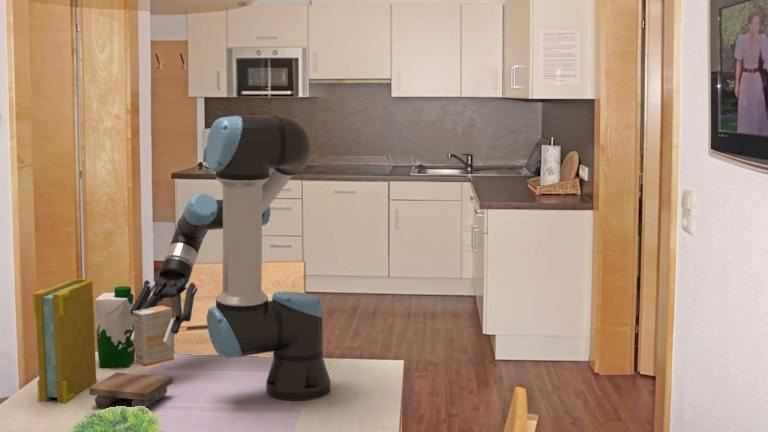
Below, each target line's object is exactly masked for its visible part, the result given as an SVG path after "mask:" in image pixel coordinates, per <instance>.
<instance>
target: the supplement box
mask: <svg viewBox="0 0 768 432" xmlns="http://www.w3.org/2000/svg"><path fill="white" fill-rule="evenodd" d="M171 318H173V308H172V307H169V306H165V305H156V306H155V307H152V308H147V309H142V310H137V311H133V324H134V342H135V360H134V361H135V364H136V365H139V366H142V367H145V368H146V367H150V366H154V365H157V364H161V363H166V362H170V361H174V360H175V351H174V350H175V348H174V346H175V345H174V339H173V340H172V343H171V346H170V347H167V346H166V345H165V343H164V342H163V340H164V337H165V335H166V332H167V329H168V326H169V323H170V320H171Z"/></svg>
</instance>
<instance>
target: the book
mask: <svg viewBox="0 0 768 432" xmlns="http://www.w3.org/2000/svg"><path fill="white" fill-rule="evenodd" d="M93 294H94V290H93V280H92V279H91V278H90V279H89V278H74V279H69V280H67V281H64V282H61V283H58V284H57V285H53V286H51V287H49V288H45V289H41V290H38V291H36V292H34V293H32V298H33V299H32V300H33V315H35V321H36V322H35V323H36V343H37V345H36V346H37V365H38V380H37V401H38V402H45V403H46V402H48V401H50V400H51V399H53V398H57V399H56V400H57V403H58V404H59V403H61V404H66V403H68V402H70V401H71V400H73V399H74V398H75V396H76V395H79V394H80V393H82V392H83V391H85V390H87V389H89V388H91V387H92V386H94V385H96V384H97V366H96V365H97V364H96V346H95V345H96V343H95V342H96V341H95V340H96V338H95V316H94V314H95V313H94V311H95V310H94V295H93Z"/></svg>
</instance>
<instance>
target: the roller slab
mask: <svg viewBox="0 0 768 432" xmlns="http://www.w3.org/2000/svg"><path fill="white" fill-rule="evenodd" d="M172 384H173V377H172V376H166V375H165V376H164V375H163V376H162V375H155V374H154V375H153V374H142V373H141V374H140V373H131V372H115V373H113V374H112V375H110V376H108V377H107V378H105V379H103V380H101V381H100V382H98V383H95V384H93V385H92V386H90V387H88V391H89V393H88V394H89V396H96V397H95V399H94V402H95V405H96V406H97V407H98V408H99V409H103V408H106V407H108V406H109V405H111V404H112V403H114V402H115V401H117V400H118V399H128V400H129V399H131V400H132V401H131V407H135V406H140V405H141V406H145V407H146V408H148V407H150V406H151V405H152V404H154V403H155V402H157V401H158V400H159V399H160V398H162V397H164V396H165V395H166V394H168V393H167V392H168V386H169V387H170V385H172Z"/></svg>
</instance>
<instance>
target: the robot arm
mask: <svg viewBox="0 0 768 432" xmlns="http://www.w3.org/2000/svg"><path fill="white" fill-rule="evenodd" d="M312 148H313V147H312V141H311V138H310V135H309V133H308V131H307V130H306V129H305V127H304V126H303V125H302V124H301V123H300V122H298V121H297V120H295V119H293V118H292V117H289V116H284V115H231V116H225V117H224V116H223V117H222V116H221V117H219V118H217V119H216V120H215V121H214V122H213V123H212V125H211V126H210V129H209V132H208V135H207V140H206V147H205V149H206V150H205V157H206V158H207V159H206V162H207V166H208V168H209V169H210V170H211V171H212V172H214V173H215V179H216V180H217V181H218V182H219V183H220V185H222V199H215V198H214V197H213V196H212V195H208V194H206V193H197V194H195V195H193V196H192V197H191V198H190V199H189V201H188V202H187V203H186V205H185V207H184V210H183V213H182V214H181V215H180V218H178V221H177V224H176V228H175V230H174V233H173V235H172V238H171V242H170V244H169V246H168V249H167V251H166V255H165V257H164V260H163V262H162V265H161V268H160V270H159V275H158V277H157V279H155V281H149V280H148V279H146V280H144V282H143V288H142V289H141V292H140V293H139V294H138V296H137V298H136V299H135V301H134V305H133V307H132V309H131V310H130V313H131V315H132V316H133V311H137V310H142V309H147V308H152V307H157V306H158V304H159V302H162V301H163V300H164V299H168V298H169V299H172V301H173V303H172V304H173V310H174V311H173V312H174V315H173V317H172V318H171V320H170V323H169V326H168V329H167V332H166V335H165V337H164V340H163V342H164V343H165V345H166V346H167V347H170V346H171V343H172V340H173V341H174V338H175V337H174V336H175V335H177V334H178V333H179V332H180V328H181V325H182V323H184V322H187V323H188V322H190V321H191V319H192V313H193V312H192V311H193V307H194V300H195V295H196V294H197V292H198V287H197V286H196V284H195V282H190V283H189V281H190V279H191V276H192V272H193V269H194V266H195V263H196V262H197V261H196V260H197V257H198V255H199V251H200V249H201V246H202V244H203V241H204V239H205V237H206V235H207V233H208V232H209V231H212V230H222V290H221V292H219V294H217V296H215V306H211V307H210V308H209V309H208V310H207V314H206V324H207V325H206V326H207V331H208V335H209V338H210V342H211V345H212V347H213V348H214V350H215V352H216V354H218V355H219V356H220V357H222V358H226V359H228V358H242V357H246V356H252V355H258V354H265V353H272V354H273V356H272V357H273V358H272V363H271V364H270V365H271V366H270V369H269V371H268V375H267V377H266V385H265V389H266V390H265V391H266V394H267V395H268V396H271V397H273V398H276V399H278V400H279V399H280V400H287V401H305V400H307V401H308V400H312V399H313V400H314V399H318V398H320V397H321V398H322V397H324V396H326V395H327V394H329V393H330V391H331V390H332V389H331V378H330V374H329V373H328V369H327V365H326V363H325V360H324V317H325V316H324V310H323V302H322V300H321V299H320V298H319V297H318V296H316V295H313V294H309V293H305V292H299V291H298V292H297V291H277V292H273V294H272V297H271V300H269V296H268V295H267V294H266V292H264V291H263V289H262V280H263V279H262V275H263V274H262V269H263V268H262V267H263V266H262V263H263V260H262V258H263V256H262V254H263V249H262V248H263V226H265V225H267V224H268V223H269V222H270V217H271V204H272V203H273V201H274V200H275V199H276V198H277V196H279V194H280V193H281V191H282V190H283V188H285V187H286V185H287V184H288V182H289V181H290V180H291V178H292V177H294V176H297V175H299V174H300V173H302V171H303V170H304V169H305V168H306V166H307V165H308V163H309V162H310V159H311V156H312ZM184 291H185V298H184V304H183V309H182V296H181V294H182V293H183V292H184ZM132 329H133V330H134V324H133V326H132ZM130 340H131V341H132V342H133V344H134V345H135V342H134V331H133V333H132V336H131V339H130Z"/></svg>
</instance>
